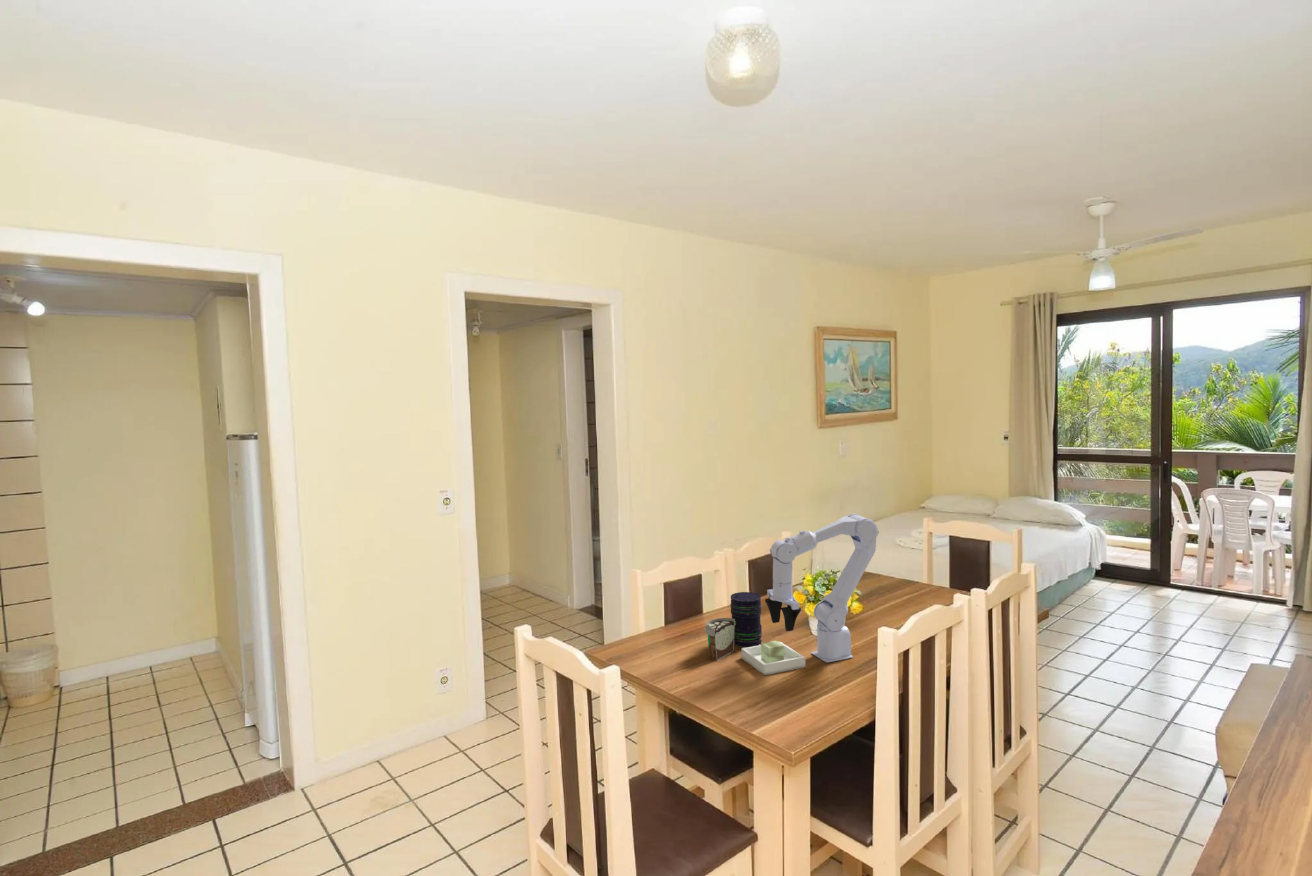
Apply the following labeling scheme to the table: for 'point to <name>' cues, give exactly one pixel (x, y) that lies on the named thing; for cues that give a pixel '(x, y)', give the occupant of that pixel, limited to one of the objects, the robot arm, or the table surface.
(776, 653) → the green block
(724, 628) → the food container
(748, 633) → the storage jar
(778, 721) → the table surface
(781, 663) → the grey tray
